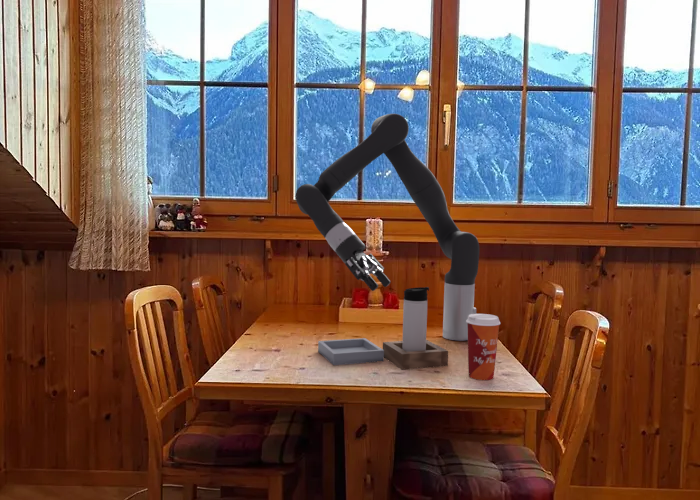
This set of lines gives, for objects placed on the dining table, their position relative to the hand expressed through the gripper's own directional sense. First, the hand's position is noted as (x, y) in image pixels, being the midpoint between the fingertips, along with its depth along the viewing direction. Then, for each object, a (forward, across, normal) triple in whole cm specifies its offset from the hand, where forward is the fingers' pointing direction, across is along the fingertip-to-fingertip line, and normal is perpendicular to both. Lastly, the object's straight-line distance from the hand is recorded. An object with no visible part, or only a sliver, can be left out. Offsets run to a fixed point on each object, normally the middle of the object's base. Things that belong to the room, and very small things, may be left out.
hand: (382, 286), depth 162 cm
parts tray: (+8, -4, +19) cm, 21 cm away
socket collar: (+20, 0, +7) cm, 22 cm away
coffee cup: (+34, -5, -7) cm, 35 cm away
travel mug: (+21, 0, +7) cm, 22 cm away
